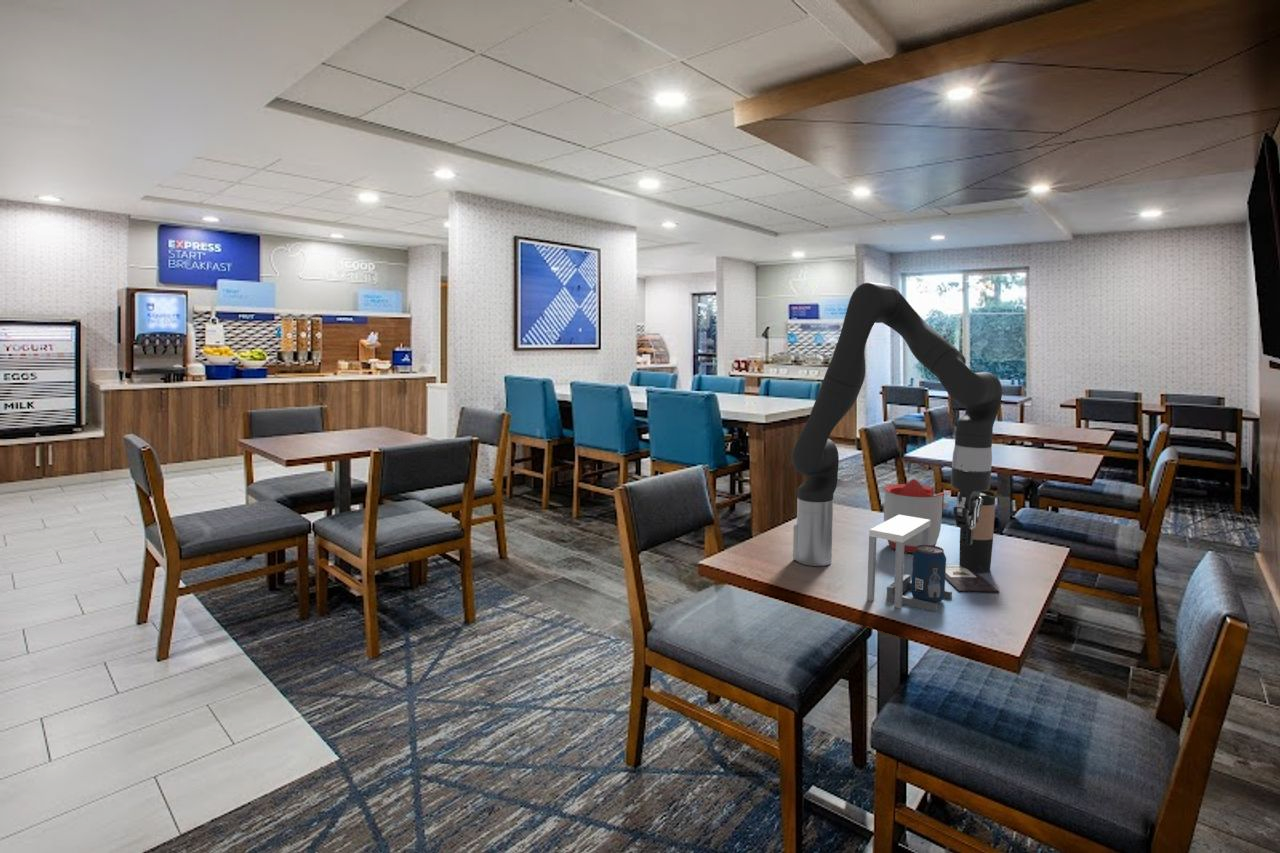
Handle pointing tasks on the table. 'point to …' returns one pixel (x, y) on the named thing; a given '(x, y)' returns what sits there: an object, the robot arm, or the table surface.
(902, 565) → the overhang shelf
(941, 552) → the soda can
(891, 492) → the citrus juicer
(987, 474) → the robot arm
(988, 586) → the chocolate bar
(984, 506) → the travel mug
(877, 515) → the table surface
